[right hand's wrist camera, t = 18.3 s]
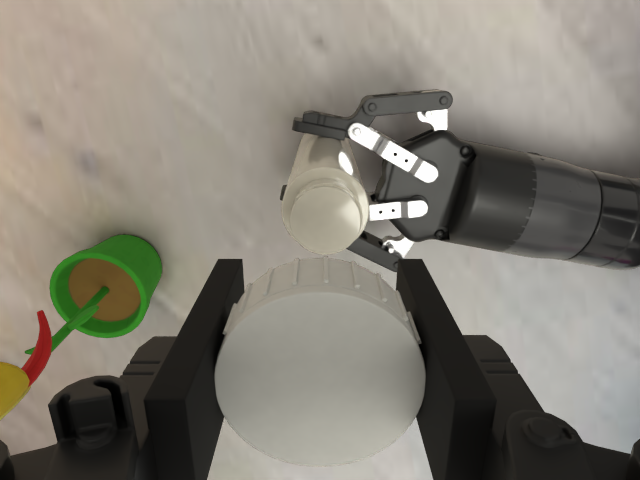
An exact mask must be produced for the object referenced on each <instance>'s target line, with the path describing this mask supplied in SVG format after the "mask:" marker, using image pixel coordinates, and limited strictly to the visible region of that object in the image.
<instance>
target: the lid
mask: <svg viewBox="0 0 640 480" xmlns="http://www.w3.org/2000/svg"><path fill="white" fill-rule="evenodd" d="M223 334H224V335H225V336H224V339H223V342H222V345H221V347H220V350H219V353H218V356H217V361H216V365H215V372H214V378H215V389H216V397H217V401H218V404H219V406H220V409H221V411H222V413H223V415H224V417H225V418H226V420H227V422H228V423H229V424H230V426H231V427H232V428H233V430H234V431H235V432H236V433H237V434H238V435H239V436H240V437H241V438H242V439H243V440H244V441H246V442H247V443H248V444H250V445H251V446H252V447H254V448H255V449H257V450H259V451H260V452H262V453H264V454H266V455H268V456H271V457H273V458H275V459H278V460H281V461H284V462H287V463H292V464H296V465H302V466H311V467H328V466H339V465H344V464H349V463H353V462H356V461H359V460H363V459H365V458H367V457H370V456H372V455H374V454H376V453H378V452H380V451H382V450H383V449H385V448H386V447H388V446H389V445H391V444H392V443H393V442H395V441H396V440H397V439H398V438H399V437H400V436H401V435H402V434H403V433H404V432H405V431H406V430H407V429H408V427H409V426H410V425H411V424H412V422H413V420H414V419H415V417H416V416H417V414H418V411H419V409H420V407H421V405H422V401H423V398H424V392H425V382H426V369H425V364H424V359H423V356H422V353H421V350H420V347H419V345H418V344H421V340H420V337H419V334H418V332H417V329H416V326H415V324H414V321H413V318H412V315H411V313H410V311H409V312H407V311H406V309H405V306H404V304H403V302H402V299H401V296H400V293H399V292H398V290H396V291H394V290H393V289H392V288H391V287H390V286H389V285H388V284H387V283H386V282H385V281H384V280H383V279H382V278H381V275H380V274H379V273H377V274H375V273H373V272H371V271H369V270H367V269H366V268H364V267H361V266H359V265H356V262H354V261H352V262H351V263H350V262H346V261H343V260H337V259H330V258H328V256H324V257H323V258H311V259H302V260H299V258H297V259H295V261H294V262H290V263H287V264H284V265H282V266H279V267H277V268H275V269H273V268H270V269H268V272H267V273H266V274H264V275H263V276H261V277H260V278H259V279H257V280H256V281H255V282H254V283H253V284H251V283H249V284H248V285H247V288H246V291H245V293H244V294H243V295H242V297H241V298H240V300H239V302H238V303H237V304H236V303H234V304H233V306H232V309H231V312H230V315H229V317H228V320H227V323H226V326H225V328H224V331H223Z"/></svg>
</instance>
